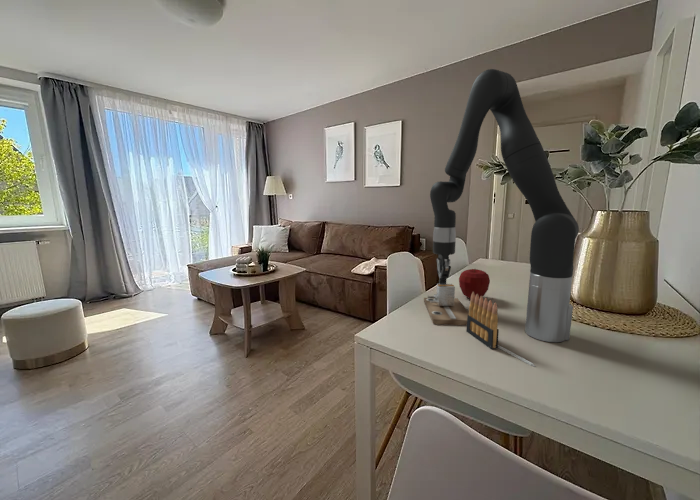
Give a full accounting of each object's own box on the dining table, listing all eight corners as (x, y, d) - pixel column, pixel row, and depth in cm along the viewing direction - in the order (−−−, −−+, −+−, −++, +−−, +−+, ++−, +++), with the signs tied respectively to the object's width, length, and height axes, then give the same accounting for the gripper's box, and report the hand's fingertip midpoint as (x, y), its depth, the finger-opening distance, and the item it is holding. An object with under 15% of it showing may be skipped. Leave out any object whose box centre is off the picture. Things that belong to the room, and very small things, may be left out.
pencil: (534, 366, 64) (480, 338, 78) (535, 369, 64) (482, 340, 78) (536, 364, 64) (482, 335, 78) (537, 366, 65) (484, 338, 78)
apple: (459, 292, 117) (461, 264, 115) (488, 295, 112) (490, 266, 110) (456, 300, 107) (457, 270, 106) (488, 304, 103) (490, 272, 101)
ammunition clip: (498, 348, 73) (501, 303, 71) (491, 349, 72) (494, 303, 70) (471, 330, 83) (474, 290, 81) (466, 331, 82) (468, 290, 80)
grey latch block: (451, 301, 100) (452, 283, 99) (454, 305, 97) (455, 286, 95) (429, 301, 101) (429, 283, 100) (431, 305, 97) (431, 286, 96)
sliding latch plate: (457, 302, 106) (457, 294, 105) (474, 325, 86) (474, 315, 86) (423, 301, 107) (424, 293, 107) (433, 324, 88) (433, 314, 87)
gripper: (460, 242, 94) (457, 293, 97) (450, 237, 107) (449, 282, 110) (436, 242, 95) (434, 293, 98) (430, 237, 108) (429, 282, 111)
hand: (442, 287), depth 104 cm, fingers closed
